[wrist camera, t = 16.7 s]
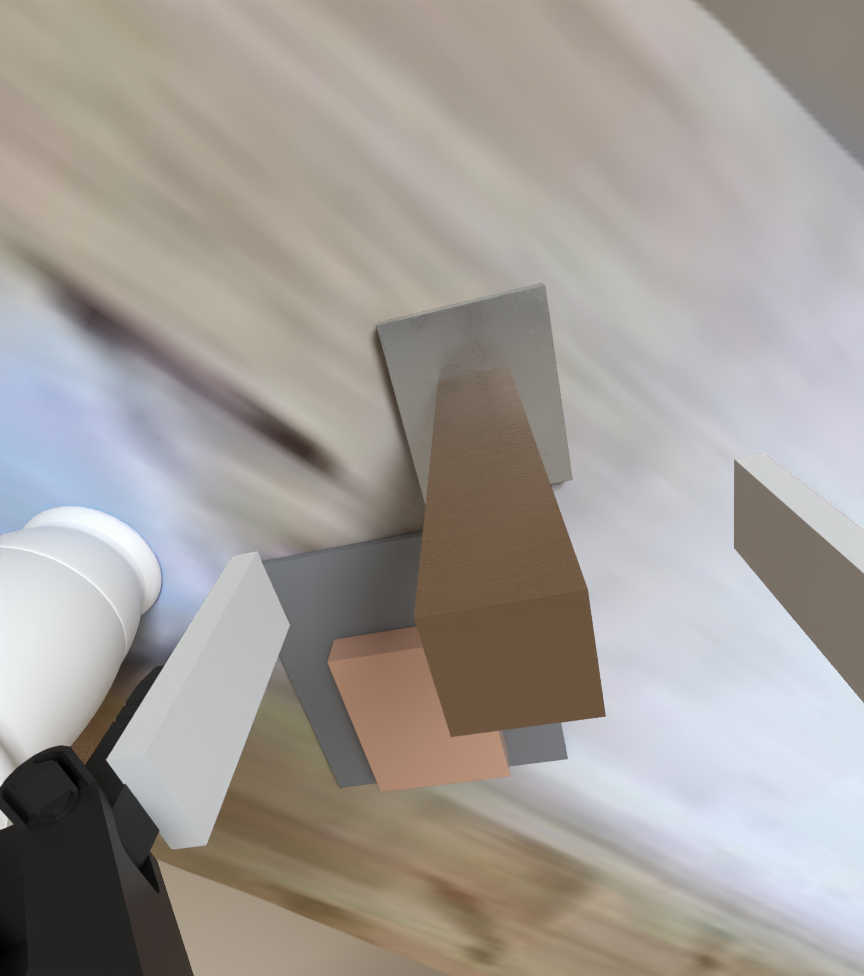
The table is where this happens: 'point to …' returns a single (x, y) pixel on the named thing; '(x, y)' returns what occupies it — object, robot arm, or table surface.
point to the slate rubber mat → (352, 612)
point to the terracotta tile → (407, 715)
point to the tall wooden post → (494, 514)
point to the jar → (65, 624)
